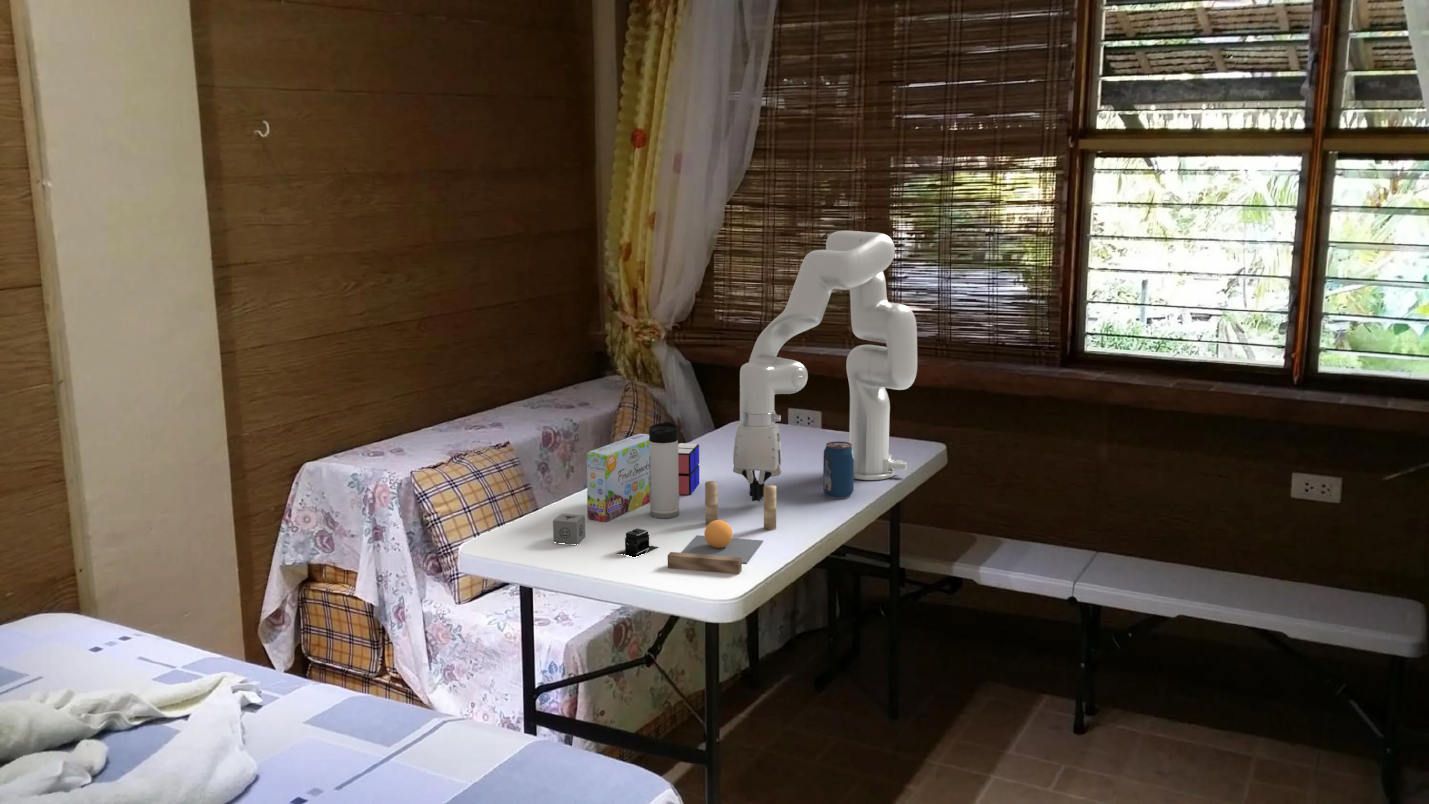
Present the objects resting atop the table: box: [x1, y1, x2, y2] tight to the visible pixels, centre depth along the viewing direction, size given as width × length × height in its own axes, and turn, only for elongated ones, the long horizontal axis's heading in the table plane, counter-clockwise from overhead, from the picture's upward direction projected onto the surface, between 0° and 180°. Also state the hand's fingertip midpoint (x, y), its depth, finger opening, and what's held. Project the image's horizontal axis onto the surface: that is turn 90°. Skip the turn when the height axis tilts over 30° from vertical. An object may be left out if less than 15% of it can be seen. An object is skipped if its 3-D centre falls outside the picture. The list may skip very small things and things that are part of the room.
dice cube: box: [552, 513, 586, 546], centre depth 252 cm, size 5×5×5 cm
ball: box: [703, 519, 733, 548], centre depth 247 cm, size 6×6×6 cm
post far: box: [704, 480, 719, 526], centre depth 262 cm, size 3×3×9 cm
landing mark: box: [680, 534, 764, 564], centre depth 246 cm, size 14×14×1 cm
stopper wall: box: [667, 551, 743, 575], centre depth 235 cm, size 14×2×2 cm, turn 75°
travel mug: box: [648, 421, 680, 519], centre depth 268 cm, size 6×7×20 cm
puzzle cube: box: [678, 442, 700, 496], centre depth 289 cm, size 10×10×10 cm
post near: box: [763, 484, 777, 531], centre depth 259 cm, size 3×3×9 cm
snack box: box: [586, 433, 650, 523], centre depth 273 cm, size 21×6×15 cm, turn 151°
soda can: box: [822, 440, 855, 499], centre depth 282 cm, size 7×7×12 cm
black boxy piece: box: [616, 527, 660, 557], centre depth 246 cm, size 12×7×5 cm, turn 146°
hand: (757, 499), depth 275 cm, fingers closed
